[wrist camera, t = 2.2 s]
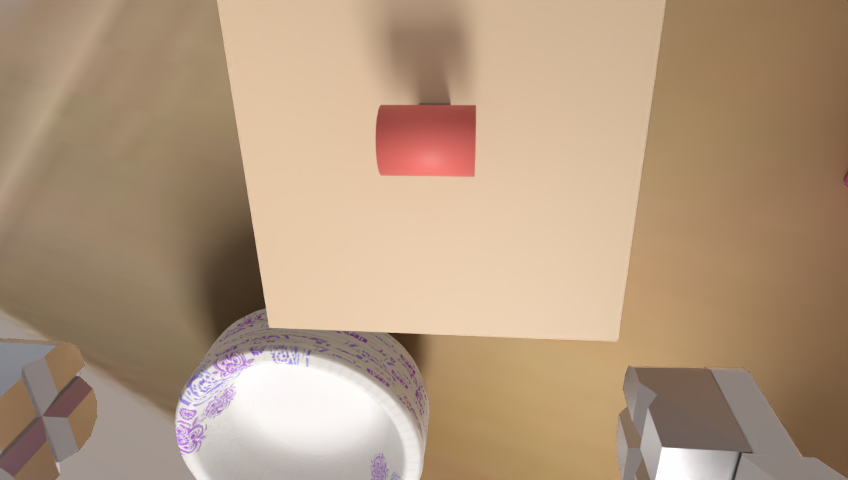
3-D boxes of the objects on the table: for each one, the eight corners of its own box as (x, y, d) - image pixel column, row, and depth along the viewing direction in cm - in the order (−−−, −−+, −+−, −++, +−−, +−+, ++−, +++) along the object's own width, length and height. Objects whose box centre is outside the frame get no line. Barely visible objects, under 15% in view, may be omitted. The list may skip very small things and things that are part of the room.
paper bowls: (373, 478, 47) (352, 573, 40) (194, 392, 45) (139, 476, 38) (475, 344, 41) (472, 428, 34) (271, 236, 39) (222, 301, 31)
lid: (607, 310, 29) (638, 405, 23) (286, 299, 31) (235, 385, 25) (672, -191, 20) (749, -250, 14) (219, -170, 22) (116, -216, 16)
